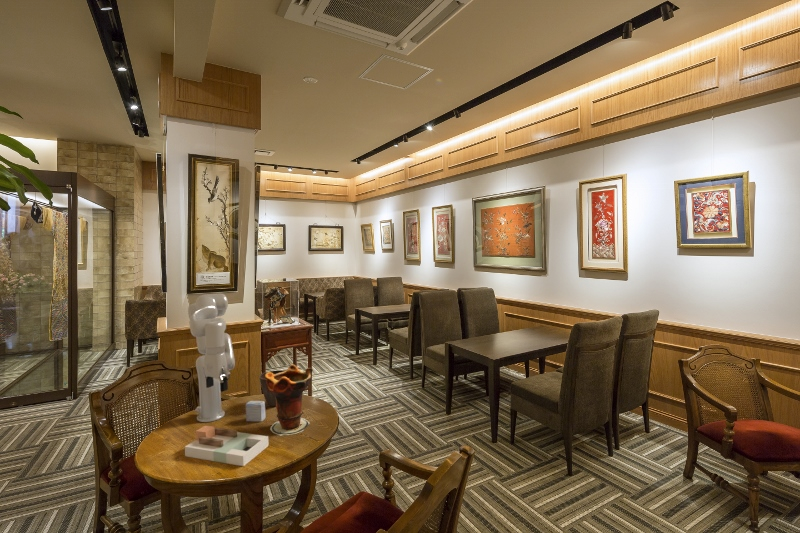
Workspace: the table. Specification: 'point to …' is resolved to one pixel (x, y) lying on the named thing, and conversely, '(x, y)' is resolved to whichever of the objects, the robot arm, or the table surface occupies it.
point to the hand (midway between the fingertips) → (217, 388)
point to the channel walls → (217, 441)
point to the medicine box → (255, 411)
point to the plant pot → (267, 393)
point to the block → (205, 432)
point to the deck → (229, 449)
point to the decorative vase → (289, 399)
